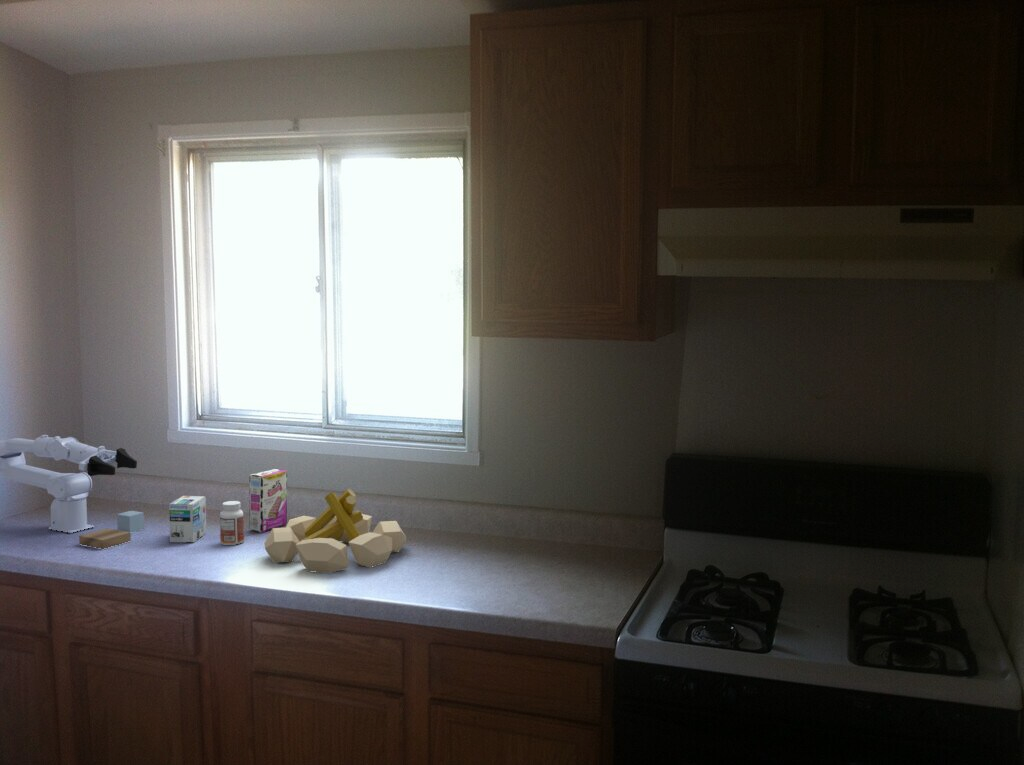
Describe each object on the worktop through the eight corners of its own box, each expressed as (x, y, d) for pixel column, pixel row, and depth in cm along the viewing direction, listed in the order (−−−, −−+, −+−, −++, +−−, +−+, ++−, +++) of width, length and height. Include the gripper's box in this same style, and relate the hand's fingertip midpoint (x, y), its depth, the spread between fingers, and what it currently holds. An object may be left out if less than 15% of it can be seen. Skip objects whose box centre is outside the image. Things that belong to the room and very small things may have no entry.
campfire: (429, 551, 251) (429, 488, 249) (339, 583, 223) (339, 512, 221) (333, 531, 270) (333, 472, 268) (239, 558, 242) (238, 493, 240)
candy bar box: (262, 533, 265) (261, 476, 264) (248, 531, 268) (248, 474, 266) (288, 524, 275) (287, 469, 274) (274, 522, 278) (274, 468, 276)
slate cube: (117, 531, 266) (117, 514, 265) (131, 527, 270) (131, 510, 270) (130, 533, 264) (129, 516, 263) (144, 529, 268) (143, 512, 268)
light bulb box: (193, 543, 255) (192, 504, 253) (169, 542, 255) (168, 503, 254) (207, 533, 265) (206, 495, 264) (183, 532, 265) (182, 495, 264)
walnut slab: (79, 546, 251) (79, 535, 251) (107, 538, 259) (107, 528, 259) (103, 551, 247) (102, 540, 247) (130, 543, 255) (130, 532, 255)
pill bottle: (238, 538, 260) (238, 499, 259) (247, 543, 255) (247, 503, 254) (216, 542, 256) (216, 502, 255) (225, 547, 251) (225, 506, 250)
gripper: (67, 448, 255) (104, 460, 250) (109, 437, 268) (145, 448, 263) (66, 472, 257) (103, 485, 252) (108, 460, 270) (144, 472, 265)
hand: (125, 467), depth 258 cm, fingers open, 7 cm apart
